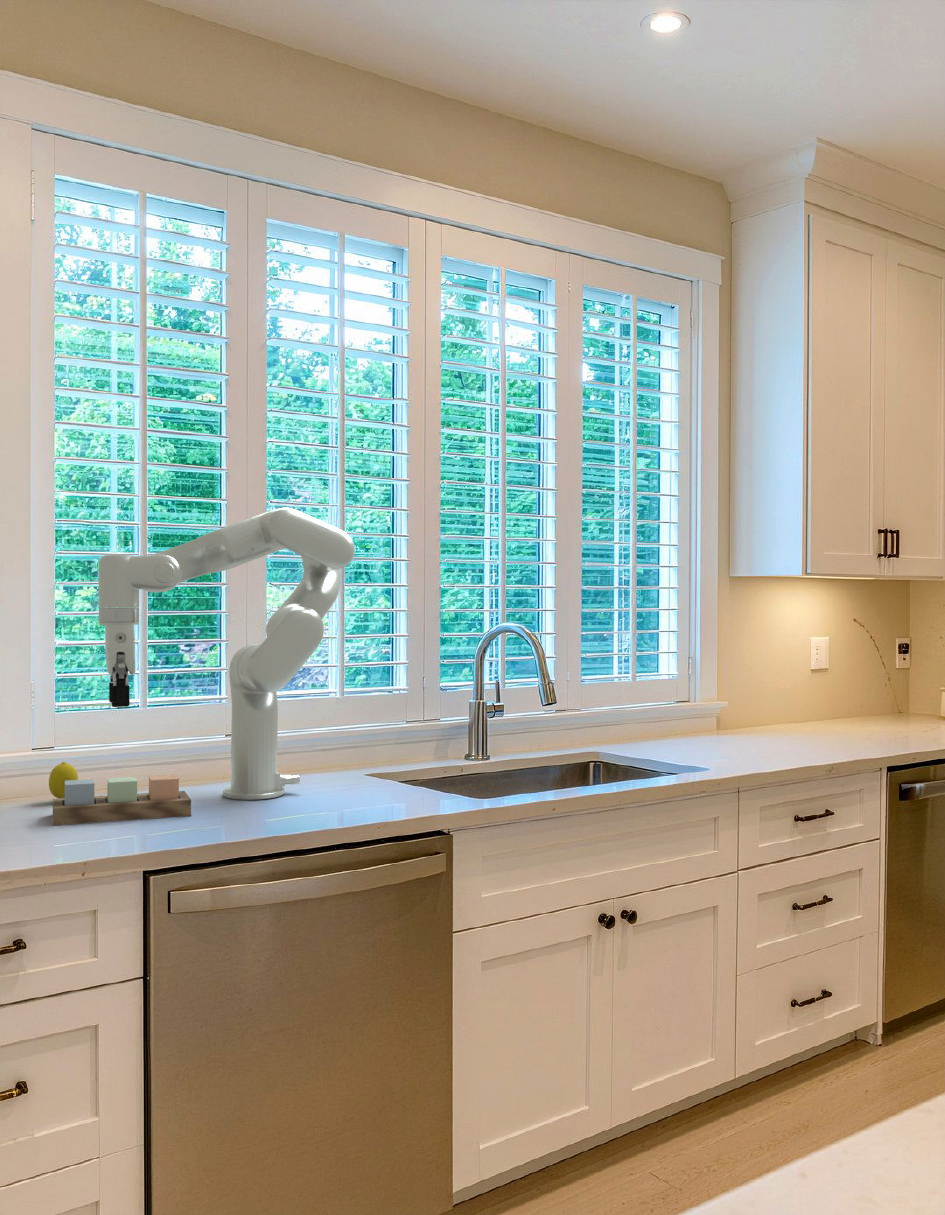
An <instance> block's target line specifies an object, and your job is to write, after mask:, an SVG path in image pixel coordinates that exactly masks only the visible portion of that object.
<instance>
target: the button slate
mask: <svg viewBox="0 0 945 1215" xmlns="http://www.w3.org/2000/svg"><path fill="white" fill-rule="evenodd" d="M94 796H95V780H94V778H92V779H91V778H89V779H78V780H67V781H65V806H69V805H85V804H94Z"/></svg>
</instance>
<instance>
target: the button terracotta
mask: <svg viewBox="0 0 945 1215" xmlns="http://www.w3.org/2000/svg"><path fill="white" fill-rule="evenodd" d="M179 787H180V779H179V777H178V775H177V774H165V775H149V776H148V793H149V800H164V799H179V791H180V790H179V789H180V788H179Z"/></svg>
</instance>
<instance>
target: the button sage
mask: <svg viewBox="0 0 945 1215" xmlns="http://www.w3.org/2000/svg"><path fill="white" fill-rule="evenodd" d="M106 780H107V782H106V783H107V789H106V790H107V793H106V794H107V795H106V796H107V803H116V802H132V801H137V794H138V780H137V777H136V776H126V777H108V778H107V779H106Z"/></svg>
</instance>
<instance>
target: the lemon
mask: <svg viewBox="0 0 945 1215" xmlns="http://www.w3.org/2000/svg"><path fill="white" fill-rule="evenodd" d="M67 780H79V774H78V771H77V770H76V768H75V767H74V766H73V765H72V764H69V763H68V762H66V761H62V762H61V763H60V764H58V765H56V766H55V767H54V768H53V769H52V770H51V772H50V774H49V777H48V789H49V791H50V794H51V795H53V797H54V798H55V799H57V798H65V781H67Z"/></svg>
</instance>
